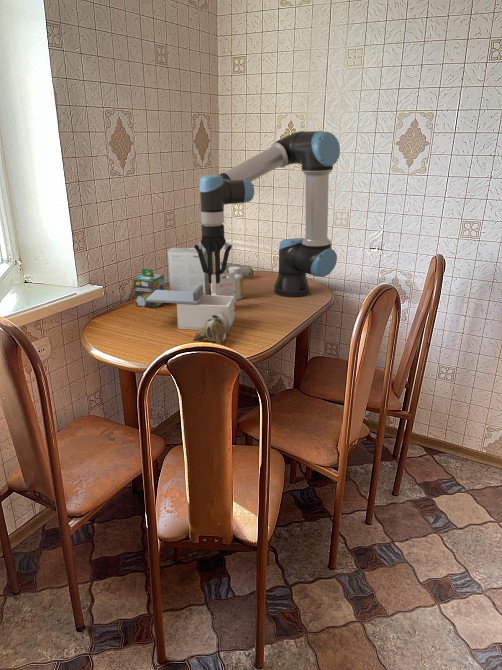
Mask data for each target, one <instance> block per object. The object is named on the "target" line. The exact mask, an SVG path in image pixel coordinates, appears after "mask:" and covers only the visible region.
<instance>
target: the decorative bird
mask: <svg viewBox="0 0 502 670" xmlns="http://www.w3.org/2000/svg"><path fill="white" fill-rule="evenodd" d="M222 262H223V261H221V260H220V268H221V267H222ZM229 267H240V273H241V274H242V276H243V278H245V277H248V278H250V279H252V280H253V279H254V269H253V268H252V267H251V266H249V265H242V264H239V263H229V262H227V264H226V269H225V271H224V273H221V274H226V273H229Z"/></svg>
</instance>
